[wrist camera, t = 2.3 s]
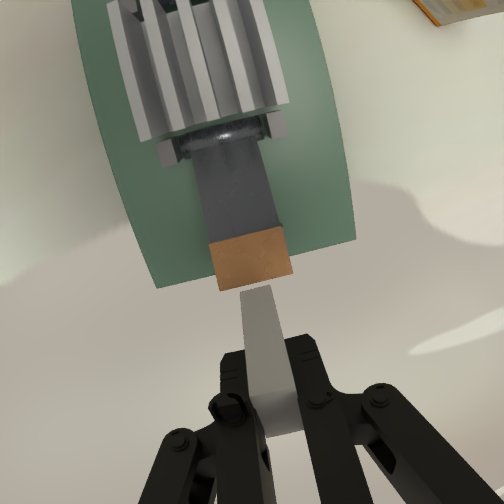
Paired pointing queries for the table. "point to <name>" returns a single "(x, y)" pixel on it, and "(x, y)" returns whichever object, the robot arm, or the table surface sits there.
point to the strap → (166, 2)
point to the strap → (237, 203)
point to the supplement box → (458, 9)
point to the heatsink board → (213, 117)
